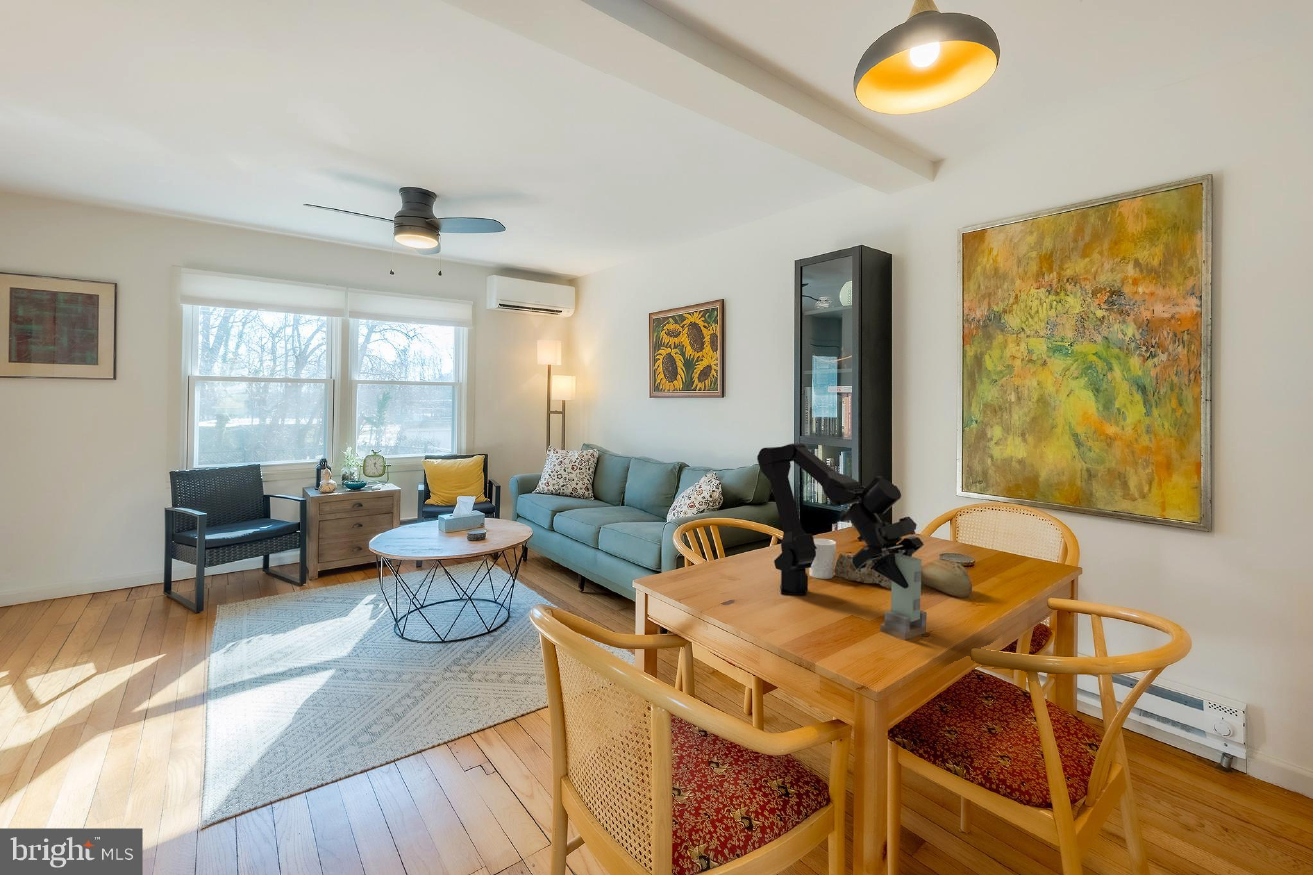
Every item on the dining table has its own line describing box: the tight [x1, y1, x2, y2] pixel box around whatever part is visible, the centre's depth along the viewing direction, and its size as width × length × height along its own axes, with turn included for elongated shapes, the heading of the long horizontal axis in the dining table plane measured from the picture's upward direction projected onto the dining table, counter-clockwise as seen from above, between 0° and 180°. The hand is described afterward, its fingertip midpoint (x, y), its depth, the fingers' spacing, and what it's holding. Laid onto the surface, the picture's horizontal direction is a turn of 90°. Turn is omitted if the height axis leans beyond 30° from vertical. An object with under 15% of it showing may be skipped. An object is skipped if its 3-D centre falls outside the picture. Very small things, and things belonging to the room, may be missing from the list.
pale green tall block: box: [890, 554, 923, 622], centre depth 125 cm, size 5×3×13 cm, turn 33°
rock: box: [834, 553, 892, 590], centre depth 163 cm, size 21×14×10 cm
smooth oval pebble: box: [921, 558, 973, 598], centre depth 154 cm, size 10×15×8 cm, turn 26°
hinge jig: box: [879, 609, 928, 641], centre depth 126 cm, size 6×8×4 cm
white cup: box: [808, 538, 837, 580], centre depth 167 cm, size 8×8×10 cm
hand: (911, 586), depth 124 cm, fingers closed on pale green tall block, 3 cm apart
